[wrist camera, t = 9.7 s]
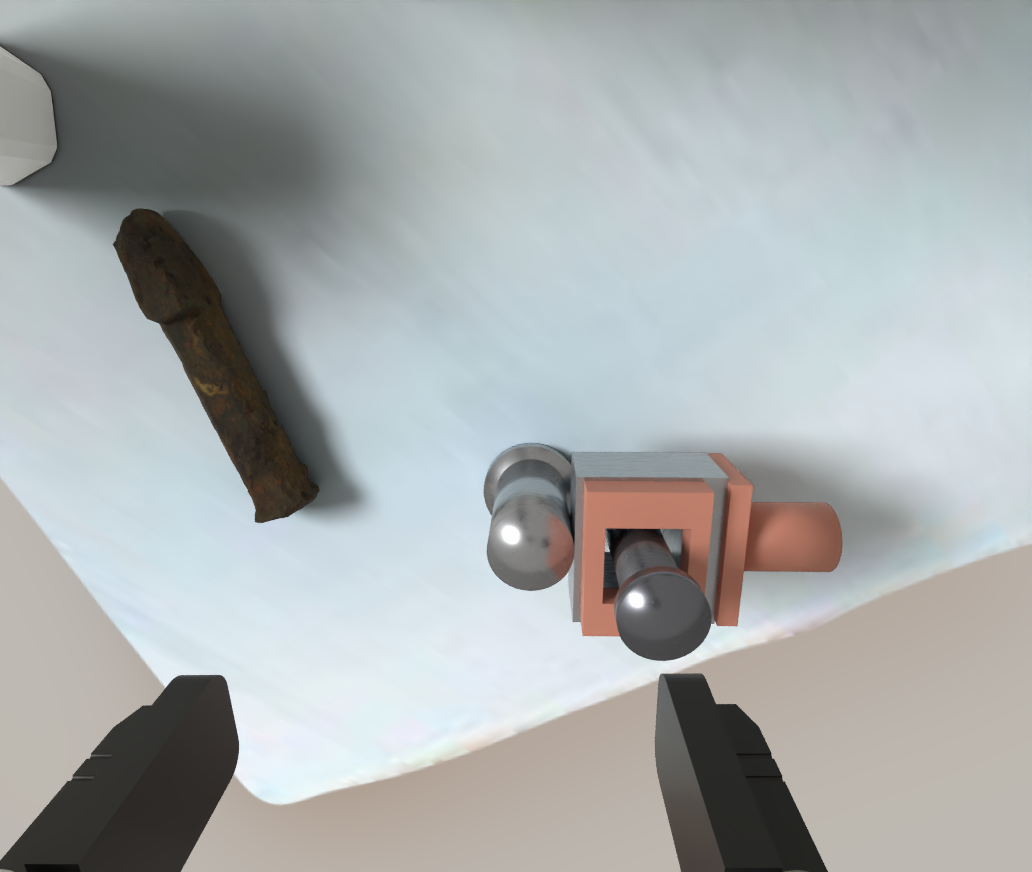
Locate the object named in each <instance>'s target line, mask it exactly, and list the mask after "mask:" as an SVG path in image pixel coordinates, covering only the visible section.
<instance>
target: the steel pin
mask: <svg viewBox="0 0 1032 872" xmlns="http://www.w3.org/2000/svg"><path fill="white" fill-rule="evenodd" d="M605 534H606V538H607V542H608V546H609V549H610V553H611V557H612V561H613V565H614V568H615V572H616V576H617V580H618V584H619V590H618V592H617V594H616V597H615V601H614V615H615V619H616V624H617V628H618V632H619V635H620V637H621V639H622V641H623V642H624V643H625V645H626V646H627V647H628V648H629V649H630V650H631V651H633V652H634V653H636V654H637V655H639V656H642V657H644V658H647V659H651V660H658V661H667V660H674V659H677V658H680V657H683V656H685V655H687V654H689V653H691V652H692V651H694V650H695V649H696V648H697V647H698V646H700V644H701V643H702V642H703V641H704V639H705V638H706V636H707V634H708V632H709V630H710V626H711V619H712V615H711V609H710V605H709V603H708V601H707V599H706V597H705V595H704V593H703V591H702V589H701V587H700V586H699V584H698V583H697V582H696V580H695V579H694V578H693V577H691V576H690V575H689V574H687V573H686V572H684V571H682V570H680V569H678V567H677V565H676V563H675V561H674V558H673V556H672V554H671V552H670V550H669V548H668V546H667V544H666V542H665V539H664V537H663V535H662V533H661V531H660V529H627V528H605Z"/></svg>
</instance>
